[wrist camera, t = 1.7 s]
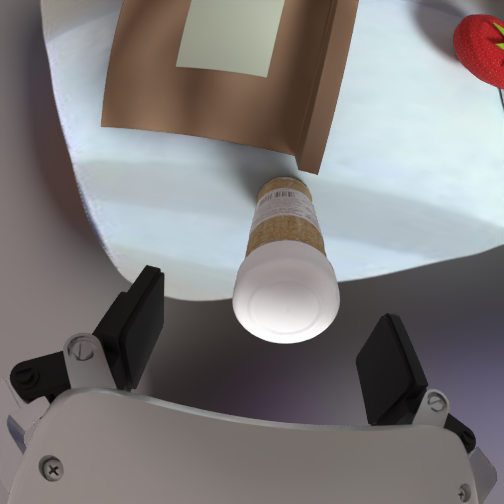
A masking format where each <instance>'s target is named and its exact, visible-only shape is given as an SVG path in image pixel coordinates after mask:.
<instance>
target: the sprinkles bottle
mask: <svg viewBox="0 0 504 504" xmlns="http://www.w3.org/2000/svg"><path fill="white" fill-rule="evenodd" d="M339 304H340V295H339V290H338V284H337V280H336V276H335V272H334V269H333V267H332V265H331V263H330V261H329V260H328V259H327V257H326V253H325V250H324V241H323V237H322V234H321V230H320V227H319V223H318V220H317V216H316V213H315V209H314V206H313V204H312V197H311V194H310V192H309V190H308V188H307V187H306V186H305V185H304V184H303V183H302V182H300V181H299V180H297V179H294V178H291V177H279V178H274V179H272V180H270V181H268V182H267V183H266V184H265V185H264V186H263V188H262V189H261V190H260V192H259V194H258V197H257V206H256V210H255V214H254V217H253V221H252V225H251V229H250V234H249V241H248V246H247V251H246V256H245V259H244V261H243V262H242V264H241V266H240V267H239V270H238V273H237V277H236V282H235V286H234V291H233V308H234V312H235V315H236V317H237V319H238V320H239V322H240V323H241V324H242V325H243V327H244V328H245V329H247V330H248V331H249V332H250V333H252V334H253V335H255V336H257V337H259V338H261V339H264V340H267V341H271V342H276V343H295V342H301V341H304V340H307V339H310V338H312V337H315V336H316V335H318V334H319V333H321V332H322V331H324V330H325V329H326V328H327V327H328V326H329V325H330V324H331V322H332V321H333V320H334V318H335V316H336V315H337V311H338V309H339Z"/></svg>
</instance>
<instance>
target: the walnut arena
mask: <svg viewBox="0 0 504 504" xmlns="http://www.w3.org/2000/svg"><path fill="white" fill-rule="evenodd" d="M191 1H192V0H124V1H123V5H122V8H121V12H120V16H119V19H118V23H117V27H116V32H115V36H114V40H113V45H112V50H111V55H110V60H109V66H108V72H107V78H106V85H105V92H104V100H103V109H102V119H101V127H115V128H128V129H140V130H150V131H160V132H168V133H176V134H184V135H191V136H198V137H204V138H210V139H216V140H222V141H228V142H233V143H239V144H244V145H249V146H254V147H258V148H263V149H268V150H272V151H277V152H281V153H285V154H289V155H294V156H295V158H296V162H297V166H298V170H301V171H305V172H309V173H313V174H316V175H318V172H319V169H320V165H321V161H322V158H323V154H324V150H325V147H326V143H327V139H328V135H329V131H330V127H331V124H332V120H333V116H334V112H335V108H336V103H337V99H338V95H339V91H340V87H341V83H342V78H343V74H344V70H345V65H346V61H347V56H348V51H349V47H350V42H351V37H352V33H353V28H354V23H355V18H356V12H357V7H358V2H359V0H285V2H284V6H283V10H282V14H281V18H280V23H279V27H278V31H277V35H276V40H275V44H274V48H273V53H272V57H271V61H270V66H269V70H268V75H267V78H265V77H260V76H254V75H248V74H242V73H235V72H228V71H220V70H211V69H201V68H189V67H176V63H177V58H178V53H179V49H180V44H181V40H182V36H183V31H184V27H185V23H186V19H187V15H188V12H189V8H190V4H191Z"/></svg>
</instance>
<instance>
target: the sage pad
mask: <svg viewBox="0 0 504 504" xmlns="http://www.w3.org/2000/svg"><path fill="white" fill-rule="evenodd" d="M284 2H285V0H192V1H191V4H190V8H189V12H188V15H187V19H186V23H185V27H184V31H183V36H182V40H181V44H180V49H179V53H178V58H177V63H176V67H189V68H201V69H211V70H220V71H228V72H235V73H242V74H248V75H254V76H260V77H265V78H267V75H268V70H269V66H270V61H271V57H272V53H273V48H274V44H275V40H276V35H277V31H278V27H279V23H280V18H281V14H282V10H283V6H284Z"/></svg>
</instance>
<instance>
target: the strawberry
mask: <svg viewBox="0 0 504 504" xmlns="http://www.w3.org/2000/svg"><path fill="white" fill-rule="evenodd" d="M453 43H454V49H455V53H456V56H457V57H458V59H459V61H460V62H461V63H462V65H463V66H464V67H465V68H467V69H468V70H469V71H470V72H471V73H472V74H473V75H474V76H476V77H477V78H479V79H480V80H482V81H484V82H486V83H488V84H490V85H493V86H495V87H497V88H500V89H503V90H504V22H503V21H501V20H500V19H498V18H496V17H494V16H491V15H469V16H467V17H465V18H464V19H463V20H462V21H461V22H460V24H459V25H458V26H457V27H456V29H455V31H454V34H453Z"/></svg>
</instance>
